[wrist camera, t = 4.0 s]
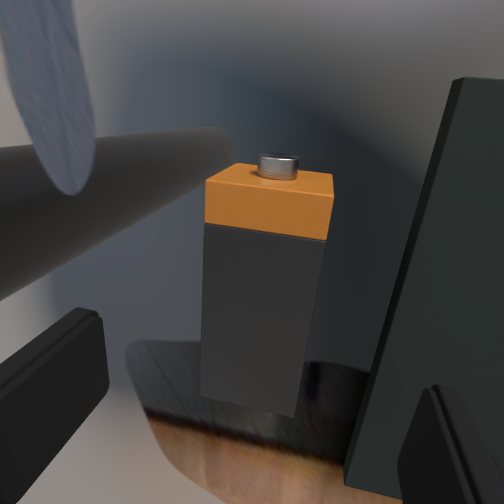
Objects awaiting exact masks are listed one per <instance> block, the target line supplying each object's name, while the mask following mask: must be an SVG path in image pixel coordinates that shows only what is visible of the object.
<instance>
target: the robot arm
mask: <svg viewBox="0 0 504 504" xmlns="http://www.w3.org/2000/svg"><path fill="white" fill-rule="evenodd" d="M108 388H109V374H108V366H107V357H106V348H105V339H104V330H103V321H102V318H101V317H99V315H98V313H97V312H96V311H93V310H89V309H84V308H79V307H78V308H75V309H73V310H72V311H71V312H69V313H68V314H66V315H65V316H64V317H62V318H61V319H60V320H59V321H57V322H56V323H55V324H53V325H52V326H50V327H49V328H48V329H46V330H45V331H44V332H42V333H41V334H40V335H38V336H37V337H36V338H34V339H33V340H32V341H30V342H29V343H28V344H26V345H25V346H24V347H22V348H21V349H20V350H18V351H17V352H16V353H14V354H13V355H12V356H10V357H9V358H8V359H6V360H5V361H4V362H2V363H1V364H0V504H16V503H17V502H18V501H19V500H20V499H21V498H22V497H23V495H24V494H25V493H26V492H27V490H28V489H29V488H30V487H31V486H32V484H33V483H34V482H35V481H36V479H37V478H38V477H39V476H40V474H41V473H42V472H43V471H44V470H45V468H46V467H47V466H48V465H49V464H50V462H51V461H52V460H53V459H54V457H55V456H56V455H57V454H58V452H59V451H60V450H61V449H62V448H63V446H64V445H65V444H66V443H67V441H68V440H69V439H70V438H71V437H72V435H73V434H74V433H75V432H76V430H77V429H78V428H79V427H80V426H81V424H82V423H83V422H84V421H85V419H86V418H87V417H88V416H89V414H90V413H91V412H92V411H93V410H94V408H95V407H96V406H97V405H98V403H99V402H100V401H101V400H102V399H103V397H104V396H105V395H106V393H107V391H108ZM397 472H398V478H399V484H400V490H401V496H402V501H403V504H504V469H503V467H502V465H501V464H500V462H499V460H498V459H497V458H496V457H495V456H494V455H493V454H491V453H489V452H488V450H487V447H486V445H485V443H484V441H483V439H482V436H481V434H480V432H479V430H478V428H477V425H476V423H475V421H474V419H473V417H472V414H471V412H470V410H469V408H468V405H467V403H466V401H465V399H464V397H463V394H462V393H461V391H460V390H459V389H455V388H451V387H446V386H442V385H437V384H434V385H432V387H431V389H428V388H425V389H424V390H423V392H422V395H421V397H420V400H419V403H418V405H417V408H416V411H415V413H414V416H413V419H412V421H411V424H410V427H409V429H408V432H407V435H406V437H405V440H404V443H403V445H402V448H401V451H400V453H399V456H398V460H397Z"/></svg>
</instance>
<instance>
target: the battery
mask: <svg viewBox="0 0 504 504" xmlns="http://www.w3.org/2000/svg"><path fill="white" fill-rule="evenodd" d="M299 160H300V159H299V158H298V157H297V156H293V155H289V154H282V153H260V154H259V155H258V163H257V165H248V164H241V163H236V164H234V165H232V166H231V167H229V168H227V169H225V170H223V171H221V172H219V173H218V174H216V175H214V176H212V177H210V178H208V179H207V180H206V188H205V224H204V251H203V252H204V254H203V286H202V319H201V320H202V322H201V354H200V388H199V396H201V397H206V398H210V399H214V400H219V401H223V402H227V403H232V404H236V405H240V406H245V407H249V408H253V409H258V410H262V411H266V412H271V413H275V414H279V415H284V416H288V417H292V418H294V415H295V409H296V404H297V398H298V393H299V387H300V382H301V376H302V371H303V365H304V360H305V354H306V349H307V343H308V338H309V332H310V327H311V321H312V316H313V310H314V305H315V299H316V294H317V288H318V283H319V277H320V272H321V266H322V261H323V256H324V250H325V244H326V238H327V233H328V228H329V222H330V217H331V211H332V206H333V200H334V192H333V179H332V174H326V173H316V172H309V171H300V170H298V167H299Z"/></svg>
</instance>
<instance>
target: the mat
mask: <svg viewBox="0 0 504 504" xmlns="http://www.w3.org/2000/svg"><path fill="white" fill-rule="evenodd" d="M434 384H437V385H442V386H446V387H451V388H455V389H459V390H460V391H461V393H462V394H463V397H464V399H465V401H466V403H467V405H468V408H469V410H470V412H471V414H472V417H473V419H474V421H475V423H476V425H477V428H478V430H479V432H480V434H481V436H482V439H483V441H484V443H485V445H486V447H487V450H488V452H489V453H491V454H493V455H494V456H495V457H496V458H497V459H498V460H499V462H500V464H501V465H502V467H503V469H504V79H490V78H476V77H463V78H459V79H456V80H453V82H452V85H451V89H450V93H449V96H448V100H447V103H446V106H445V110H444V113H443V117H442V121H441V124H440V128H439V131H438V135H437V138H436V142H435V146H434V149H433V152H432V156H431V159H430V163H429V166H428V170H427V174H426V177H425V180H424V184H423V188H422V191H421V195H420V198H419V202H418V205H417V209H416V212H415V216H414V220H413V223H412V227H411V230H410V233H409V237H408V240H407V244H406V248H405V251H404V255H403V258H402V262H401V265H400V269H399V272H398V276H397V279H396V283H395V287H394V290H393V293H392V297H391V301H390V304H389V308H388V311H387V314H386V318H385V322H384V325H383V329H382V332H381V336H380V339H379V343H378V346H377V350H376V354H375V357H374V361H373V364H372V368H371V371H370V374H369V378H368V381H367V385H366V389H365V392H364V396H363V399H362V403H361V406H360V410H359V413H358V417H357V420H356V424H355V427H354V431H353V434H352V438H351V441H350V445H349V448H348V452H347V456H346V459H345V463H344V466H343V473H344V485H345V486H349V487H353V488H357V489H361V490H365V491H369V492H373V493H377V494H381V495H384V496H388V497H392V498H396V499H400V500H402V496H401V490H400V484H399V478H398V472H397V460H398V456H399V453H400V451H401V448H402V445H403V443H404V440H405V437H406V435H407V432H408V429H409V427H410V424H411V421H412V419H413V416H414V413H415V411H416V408H417V405H418V403H419V400H420V397H421V395H422V392H423V390H424V389H425V388H428V389H431V387H432V385H434Z"/></svg>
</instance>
